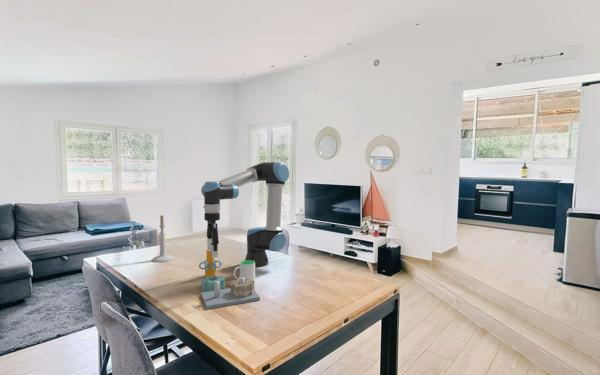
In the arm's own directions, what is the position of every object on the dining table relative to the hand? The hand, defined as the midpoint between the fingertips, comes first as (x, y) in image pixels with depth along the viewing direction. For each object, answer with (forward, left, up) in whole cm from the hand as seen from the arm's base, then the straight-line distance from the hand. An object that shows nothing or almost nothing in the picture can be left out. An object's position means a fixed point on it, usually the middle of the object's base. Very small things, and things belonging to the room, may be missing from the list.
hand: (212, 254), depth 167 cm
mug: (-17, -3, -18) cm, 25 cm away
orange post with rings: (-2, -20, -18) cm, 27 cm away
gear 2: (-11, +15, -16) cm, 25 cm away
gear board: (-5, +15, -18) cm, 24 cm away
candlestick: (+21, -68, -18) cm, 73 cm away
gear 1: (0, 0, -18) cm, 18 cm away
